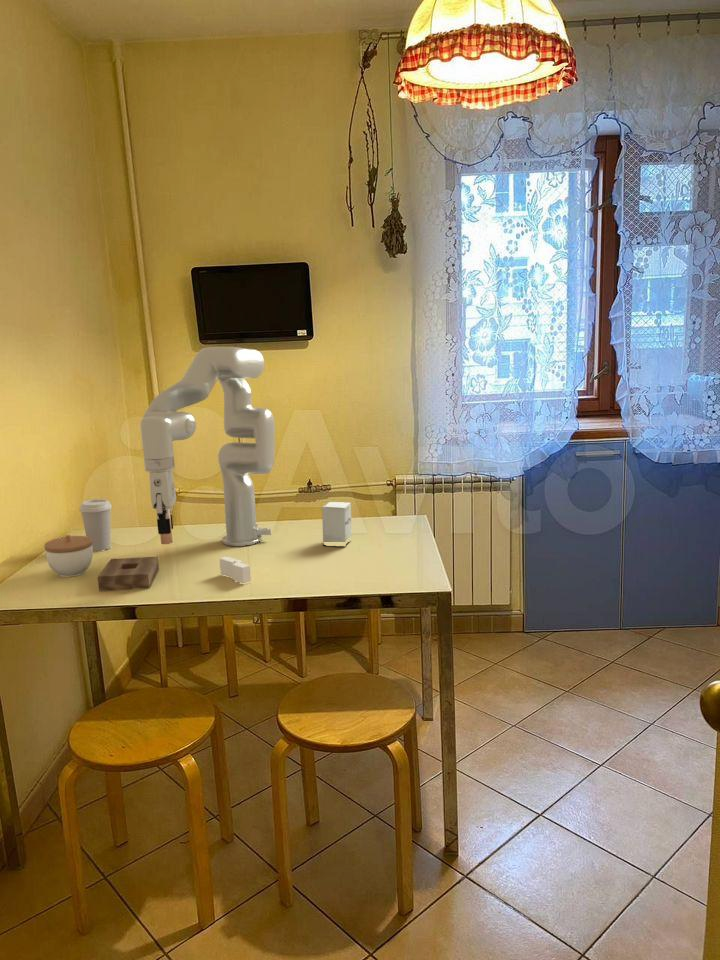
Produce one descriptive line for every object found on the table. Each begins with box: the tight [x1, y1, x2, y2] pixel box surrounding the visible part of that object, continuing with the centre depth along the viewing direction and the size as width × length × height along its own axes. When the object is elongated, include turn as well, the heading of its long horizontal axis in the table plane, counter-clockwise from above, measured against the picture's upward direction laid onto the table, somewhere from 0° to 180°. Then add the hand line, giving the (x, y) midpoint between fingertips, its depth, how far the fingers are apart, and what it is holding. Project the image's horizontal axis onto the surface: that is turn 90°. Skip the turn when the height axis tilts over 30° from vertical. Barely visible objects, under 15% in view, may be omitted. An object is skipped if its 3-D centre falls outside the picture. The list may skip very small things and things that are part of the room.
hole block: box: [97, 556, 160, 592], centre depth 204 cm, size 13×15×4 cm
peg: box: [159, 505, 174, 545], centre depth 199 cm, size 3×3×10 cm
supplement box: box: [321, 501, 353, 543], centre depth 232 cm, size 7×7×13 cm
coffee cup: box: [79, 498, 113, 552], centre depth 233 cm, size 10×10×15 cm
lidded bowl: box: [44, 534, 94, 578], centre depth 211 cm, size 13×13×11 cm
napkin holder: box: [219, 556, 252, 583], centre depth 202 cm, size 15×11×6 cm
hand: (165, 530), depth 199 cm, fingers closed on peg, 3 cm apart
